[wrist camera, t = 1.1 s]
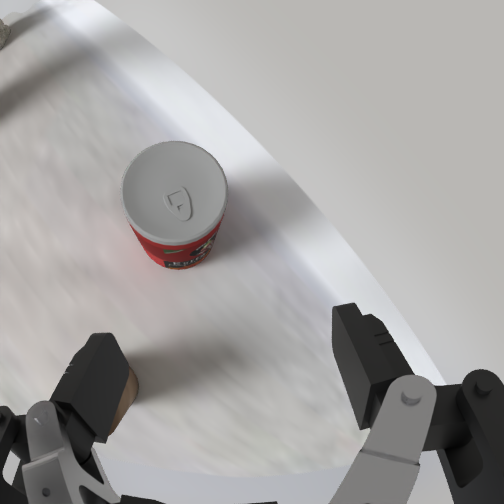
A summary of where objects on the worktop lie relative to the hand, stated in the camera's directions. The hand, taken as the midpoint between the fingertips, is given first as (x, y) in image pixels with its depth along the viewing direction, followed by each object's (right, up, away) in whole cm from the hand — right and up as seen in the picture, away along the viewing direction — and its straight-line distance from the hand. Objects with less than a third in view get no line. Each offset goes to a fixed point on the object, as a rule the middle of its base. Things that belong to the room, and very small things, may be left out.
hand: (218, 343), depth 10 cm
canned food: (-7, +5, +20) cm, 22 cm away
